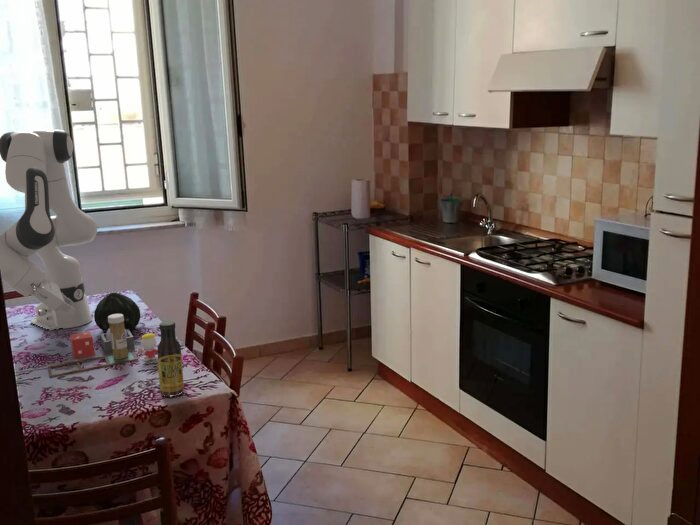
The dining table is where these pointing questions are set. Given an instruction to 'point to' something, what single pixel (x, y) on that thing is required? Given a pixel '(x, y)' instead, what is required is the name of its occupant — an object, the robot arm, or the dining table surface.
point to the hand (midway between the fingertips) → (72, 307)
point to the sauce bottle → (169, 361)
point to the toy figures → (148, 347)
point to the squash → (117, 311)
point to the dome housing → (108, 345)
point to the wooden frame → (109, 360)
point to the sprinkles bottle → (118, 336)
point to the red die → (82, 344)
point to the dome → (110, 336)
